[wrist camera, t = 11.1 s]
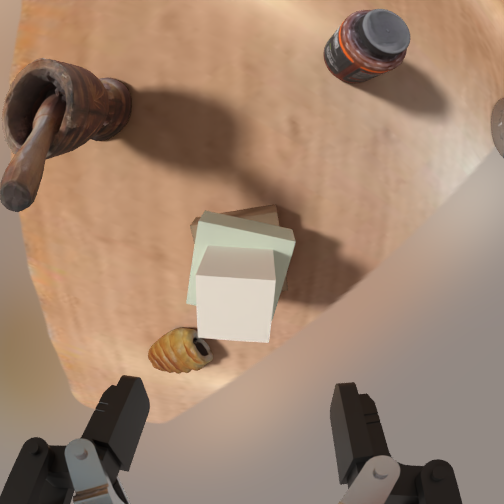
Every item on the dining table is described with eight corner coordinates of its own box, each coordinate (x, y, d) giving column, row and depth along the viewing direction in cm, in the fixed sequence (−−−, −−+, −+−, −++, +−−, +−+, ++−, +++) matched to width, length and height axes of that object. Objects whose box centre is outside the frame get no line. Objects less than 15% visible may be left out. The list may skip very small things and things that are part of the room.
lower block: (275, 203, 34) (277, 211, 31) (286, 275, 37) (288, 290, 34) (196, 216, 35) (190, 225, 32) (213, 285, 38) (209, 300, 35)
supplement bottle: (384, 71, 27) (435, 52, 17) (342, 93, 29) (380, 78, 18) (354, 27, 25) (393, -10, 15) (311, 47, 27) (334, 12, 16)
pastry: (167, 370, 44) (161, 388, 41) (140, 339, 42) (132, 356, 39) (217, 353, 42) (214, 371, 39) (191, 318, 40) (185, 335, 37)
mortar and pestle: (172, 114, 30) (64, 107, 12) (128, 175, 33) (9, 236, 14) (101, 62, 27) (-25, 34, 9) (64, 122, 30) (-66, 143, 12)
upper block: (292, 229, 31) (295, 241, 28) (271, 303, 35) (271, 321, 32) (205, 210, 31) (198, 220, 28) (192, 286, 34) (186, 303, 31)
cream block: (272, 249, 29) (275, 280, 23) (267, 304, 31) (268, 342, 25) (207, 245, 29) (195, 274, 23) (208, 300, 31) (198, 337, 25)
